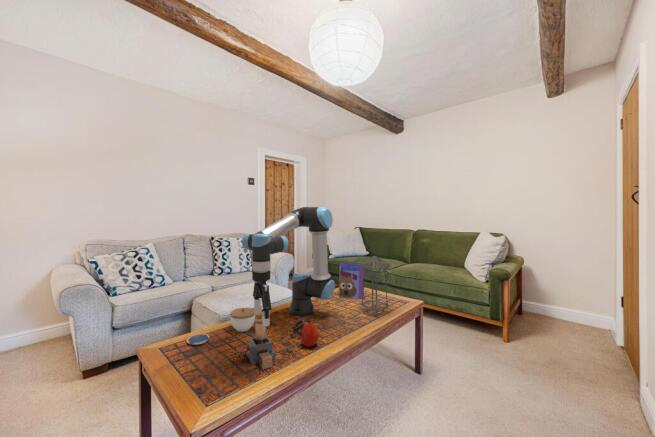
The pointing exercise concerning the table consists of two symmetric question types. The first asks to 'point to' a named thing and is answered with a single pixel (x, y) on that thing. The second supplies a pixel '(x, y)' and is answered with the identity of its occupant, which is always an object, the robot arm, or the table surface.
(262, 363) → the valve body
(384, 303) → the geometric lantern
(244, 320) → the lidded bowl
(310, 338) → the apple
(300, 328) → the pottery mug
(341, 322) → the table surface
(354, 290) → the cereal box
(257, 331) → the pipe fitting
